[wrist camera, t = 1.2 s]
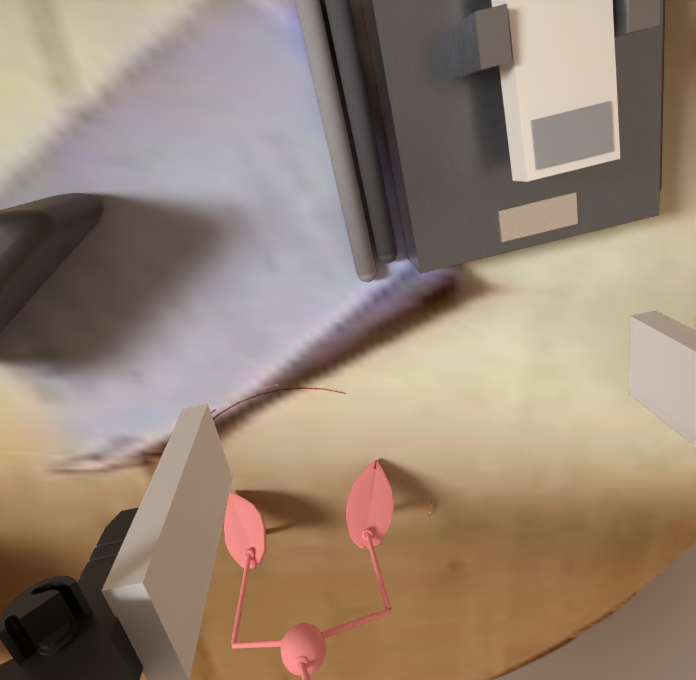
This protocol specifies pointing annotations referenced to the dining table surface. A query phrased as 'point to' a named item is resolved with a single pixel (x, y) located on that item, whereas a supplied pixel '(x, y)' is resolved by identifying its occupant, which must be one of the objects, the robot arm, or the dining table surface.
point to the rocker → (560, 86)
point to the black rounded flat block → (39, 244)
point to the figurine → (365, 530)
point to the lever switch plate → (500, 132)
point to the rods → (357, 129)
